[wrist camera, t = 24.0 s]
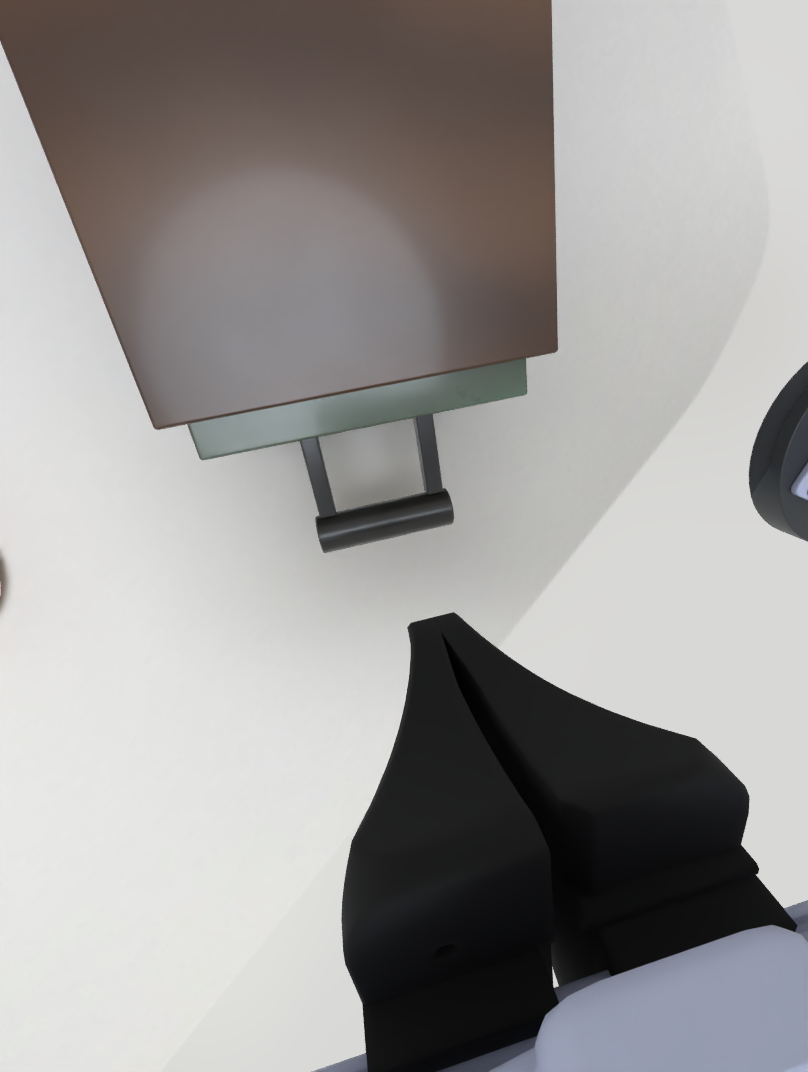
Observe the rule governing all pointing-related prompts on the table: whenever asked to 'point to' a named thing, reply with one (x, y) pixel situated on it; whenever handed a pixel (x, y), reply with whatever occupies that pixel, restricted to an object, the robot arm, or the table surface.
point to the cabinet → (301, 186)
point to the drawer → (362, 412)
